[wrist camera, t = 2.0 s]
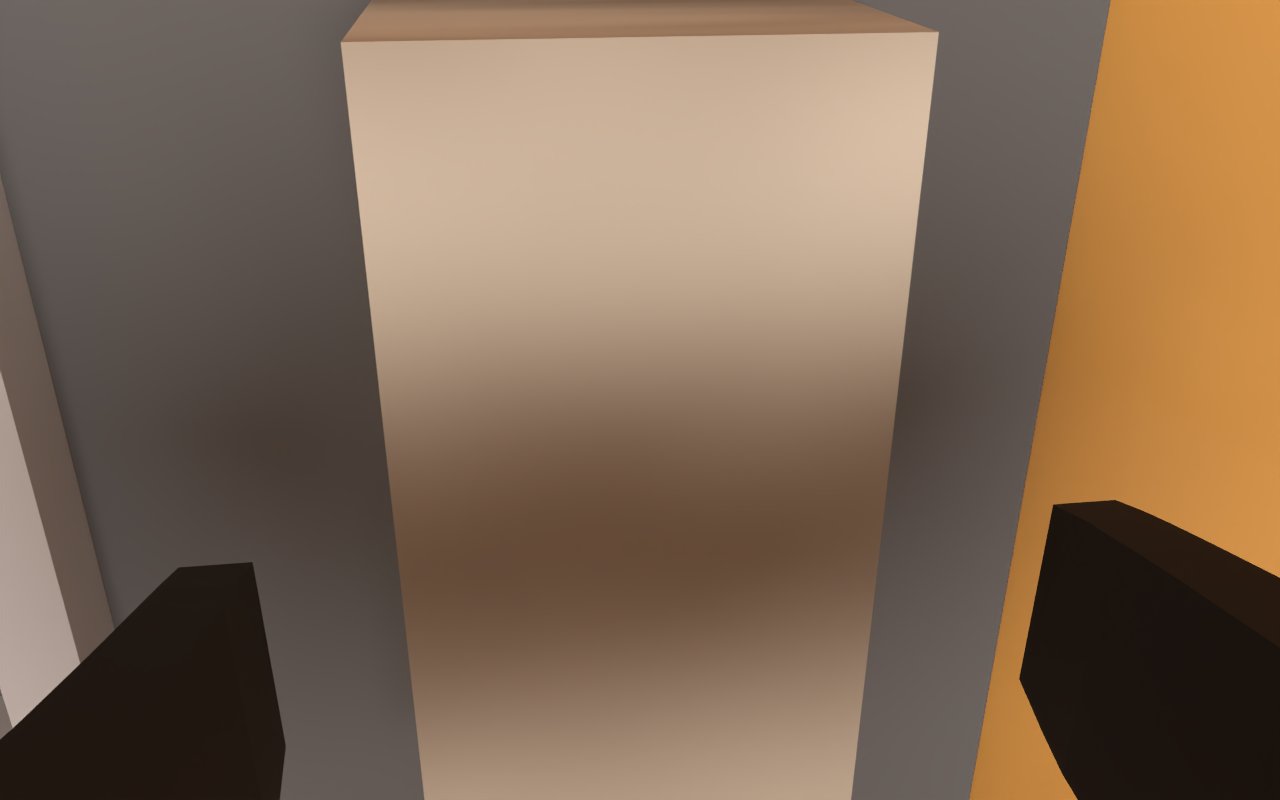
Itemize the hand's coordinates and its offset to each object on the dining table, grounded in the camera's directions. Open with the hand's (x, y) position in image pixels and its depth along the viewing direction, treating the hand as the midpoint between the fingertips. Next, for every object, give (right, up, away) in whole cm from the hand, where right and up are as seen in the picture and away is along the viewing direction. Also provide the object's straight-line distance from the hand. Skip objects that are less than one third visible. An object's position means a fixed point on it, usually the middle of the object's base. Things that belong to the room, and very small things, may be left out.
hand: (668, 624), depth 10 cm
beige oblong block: (-1, +2, +4) cm, 5 cm away
